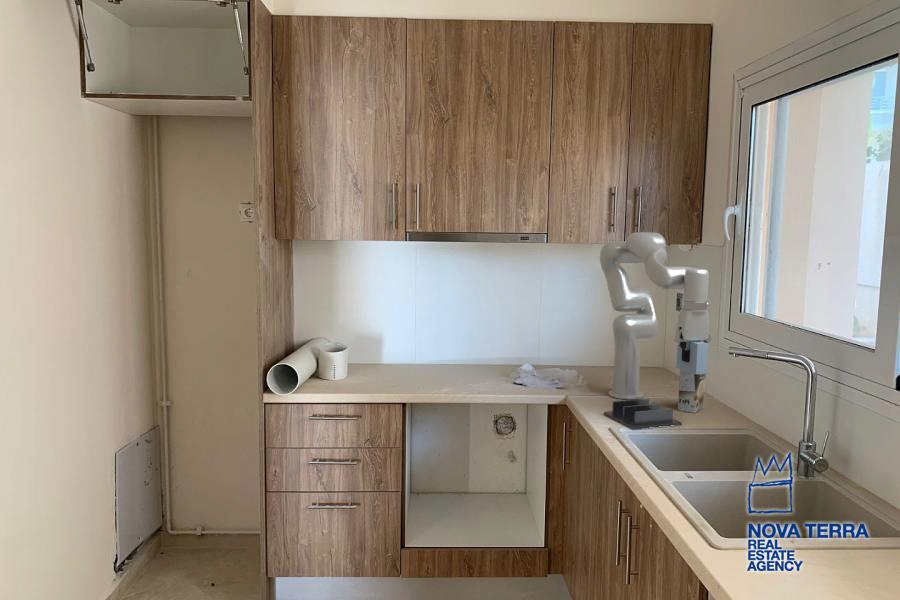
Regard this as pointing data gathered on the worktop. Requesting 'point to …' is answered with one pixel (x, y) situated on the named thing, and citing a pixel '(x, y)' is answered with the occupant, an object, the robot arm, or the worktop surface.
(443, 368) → the worktop surface
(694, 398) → the coffee box
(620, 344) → the robot arm
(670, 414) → the dish rack
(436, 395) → the worktop surface
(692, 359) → the blue-grey square block
